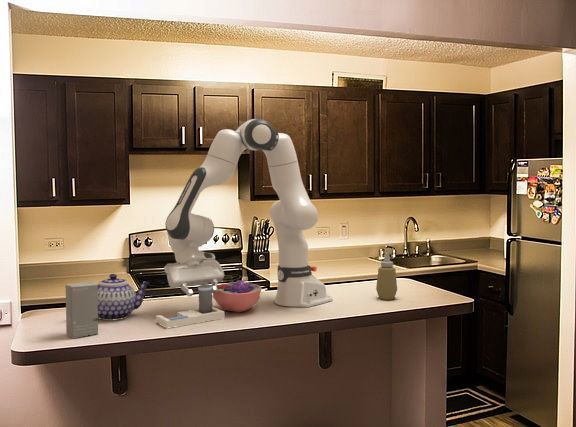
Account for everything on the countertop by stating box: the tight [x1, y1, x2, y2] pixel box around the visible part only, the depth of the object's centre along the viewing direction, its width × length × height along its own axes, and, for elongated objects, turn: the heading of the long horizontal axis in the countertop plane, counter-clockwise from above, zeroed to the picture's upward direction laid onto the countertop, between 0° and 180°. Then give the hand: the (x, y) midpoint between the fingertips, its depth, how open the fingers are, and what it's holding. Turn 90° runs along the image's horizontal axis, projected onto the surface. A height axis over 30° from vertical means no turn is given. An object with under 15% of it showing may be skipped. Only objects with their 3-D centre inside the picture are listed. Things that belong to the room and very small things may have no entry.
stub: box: [197, 284, 213, 314], centre depth 203 cm, size 5×5×11 cm
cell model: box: [212, 279, 263, 313], centre depth 214 cm, size 17×20×11 cm
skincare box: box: [64, 282, 99, 339], centre depth 184 cm, size 8×7×16 cm
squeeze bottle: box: [375, 252, 398, 301], centre depth 230 cm, size 8×8×18 cm
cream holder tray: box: [155, 306, 226, 329], centre depth 199 cm, size 21×8×3 cm, turn 125°
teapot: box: [97, 273, 151, 321], centre depth 205 cm, size 25×15×15 cm, turn 110°
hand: (203, 293), depth 204 cm, fingers open, 8 cm apart
